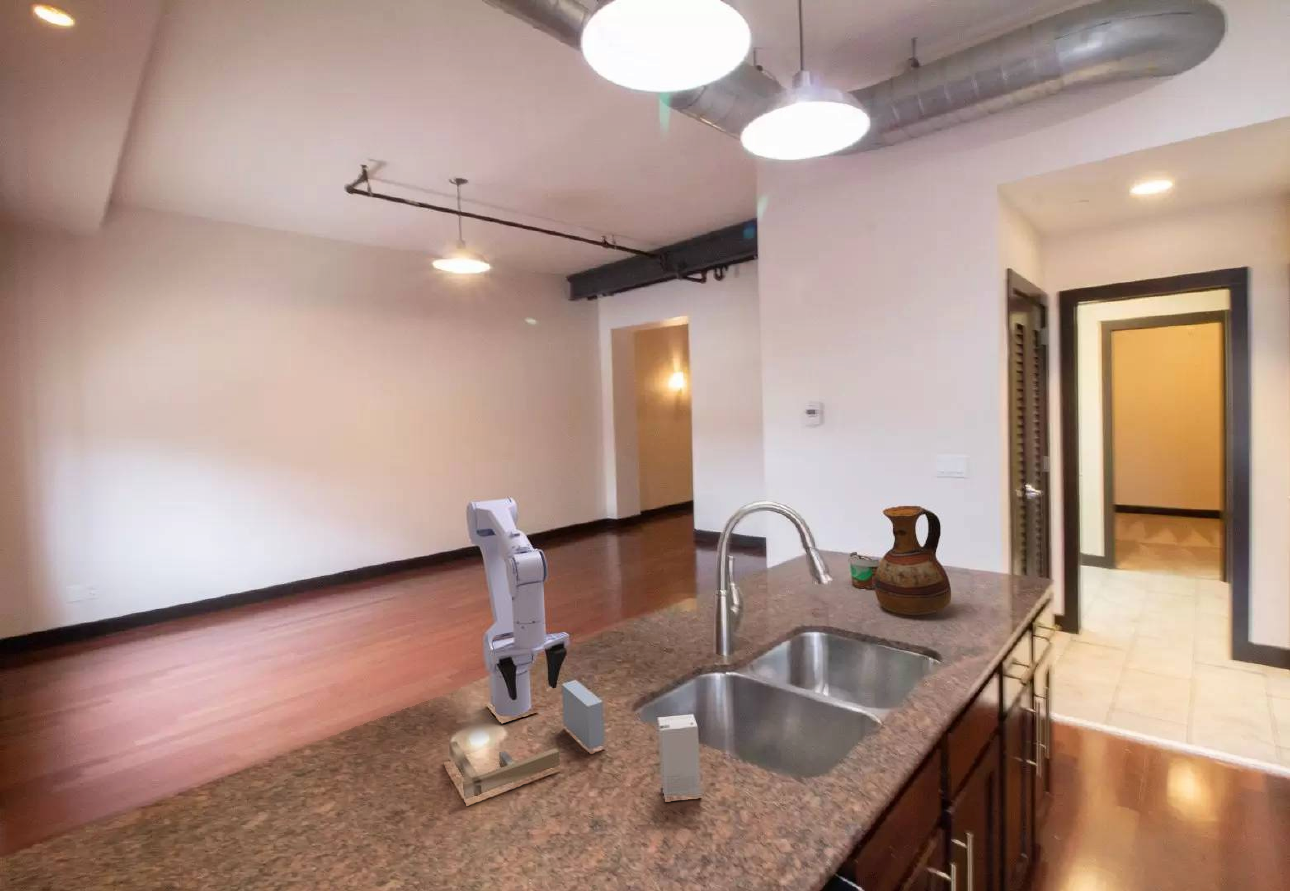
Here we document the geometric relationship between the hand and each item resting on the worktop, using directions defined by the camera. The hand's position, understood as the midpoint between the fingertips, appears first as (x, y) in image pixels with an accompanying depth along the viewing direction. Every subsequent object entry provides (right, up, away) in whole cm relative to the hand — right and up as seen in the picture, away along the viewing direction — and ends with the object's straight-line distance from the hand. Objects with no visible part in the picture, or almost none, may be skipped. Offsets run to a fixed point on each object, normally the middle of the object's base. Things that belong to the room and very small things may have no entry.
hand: (533, 692), depth 114 cm
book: (+9, -10, +3) cm, 14 cm away
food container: (+90, -1, +88) cm, 126 cm away
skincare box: (+26, -11, -15) cm, 32 cm away
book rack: (-5, -11, -6) cm, 13 cm away
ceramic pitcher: (+97, -2, +65) cm, 117 cm away
